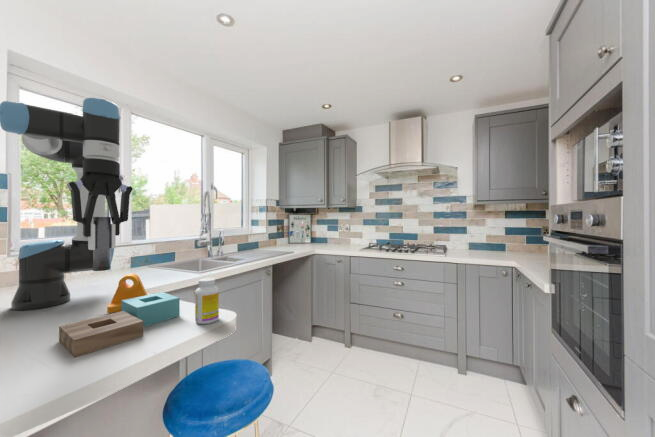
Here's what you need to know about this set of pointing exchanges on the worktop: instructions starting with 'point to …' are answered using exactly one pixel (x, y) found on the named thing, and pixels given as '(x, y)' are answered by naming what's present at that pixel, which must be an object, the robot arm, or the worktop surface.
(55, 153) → the robot arm
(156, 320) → the block with rectangular slot
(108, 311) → the bracket
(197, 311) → the supplement bottle
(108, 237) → the steel rod
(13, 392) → the worktop surface
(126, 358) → the worktop surface
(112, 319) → the socket block
